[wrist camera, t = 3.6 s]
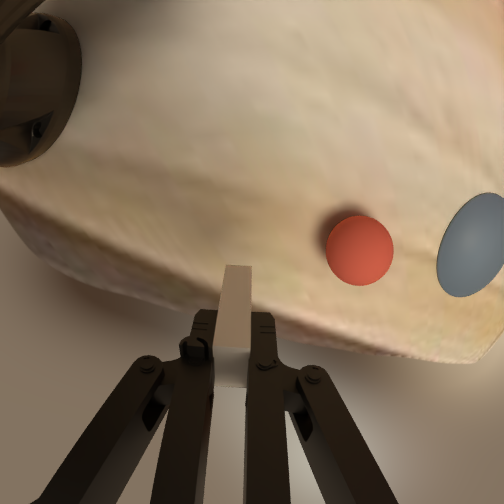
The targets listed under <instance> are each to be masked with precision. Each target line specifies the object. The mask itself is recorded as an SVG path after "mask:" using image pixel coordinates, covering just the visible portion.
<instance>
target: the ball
mask: <svg viewBox="0 0 504 504" xmlns="http://www.w3.org/2000/svg"><path fill="white" fill-rule="evenodd" d="M326 257H327V261H328V264H329V266H330V268H331V270H332V271H333V273H334V274H335V275H336V276H337V277H338V278H339V279H341V280H342V281H344V282H346V283H348V284H351V285H356V286H364V285H369V284H371V283H374V282H376V281H377V280H379V279H380V278H381V277H383V276H384V275H385V273H386V272H387V271H388V269H389V267H390V265H391V262H392V259H393V242H392V239H391V236H390V234H389V232H388V231H387V229H386V228H385V227H384V226H383V225H382V224H381V223H380V222H378V221H377V220H375V219H373V218H370V217H367V216H353V217H349V218H346V219H344V220H343V221H341V222H340V223H338V224H337V225H336V226H335V227H334V229H333V230H332V231H331V233H330V235H329V237H328V240H327V244H326Z"/></svg>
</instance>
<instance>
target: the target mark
mask: <svg viewBox="0 0 504 504" xmlns="http://www.w3.org/2000/svg"><path fill="white" fill-rule="evenodd" d="M503 264H504V198H502V197H501V196H499V195H497V194H494V193H484V194H480V195H478V196H476V197H474V198H473V199H471V200H470V201H468V202H467V203H466V204H465V205H464V206H463V207H462V208H461V209H460V210H459V211H458V213H457V214H456V215H455V217H454V218H453V220H452V221H451V223H450V224H449V226H448V228H447V230H446V232H445V234H444V236H443V239H442V242H441V245H440V249H439V252H438V258H437V275H438V280H439V283H440V285H441V286H442V288H443V289H444V290H445V292H447V293H448V294H450V295H452V296H455V297H466V296H469V295H472V294H474V293H476V292H478V291H480V290H481V289H483V288H484V287H485V286H486V285H487V284H489V283H490V282H491V281H492V280H493V278H494V277H495V276H496V275H497V273H498V272H499V271H500V269H501V268H502V266H503Z"/></svg>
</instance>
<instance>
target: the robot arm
mask: <svg viewBox="0 0 504 504" xmlns="http://www.w3.org/2000/svg"><path fill="white" fill-rule="evenodd" d="M44 1H45V0H0V167H13V166H17V165H20V164H22V163H25V162H28V161H30V160H33V159H35V158H37V157H38V156H40V155H41V154H43V153H44V152H45V151H46V150H47V149H48V148H49V147H50V146H51V145H52V144H53V143H54V142H55V140H56V139H57V138H58V136H59V135H60V133H61V132H62V130H63V128H64V126H65V125H66V123H67V121H68V119H69V116H70V114H71V112H72V109H73V106H74V104H75V100H76V97H77V93H78V89H79V84H80V78H81V66H82V60H81V49H80V44H79V41H78V38H77V35H76V33H75V31H74V30H73V28H72V27H71V26H70V25H69V24H68V23H67V22H66V21H65V20H63V19H61V18H59V17H55V16H52V15H49V14H45V13H32V12H33V11H34V10H35V9H36V8H37V7H38V6H39V5H40V4H41V3H43V2H44ZM251 278H252V266H236V265H226V267H225V273H224V279H223V285H222V291H221V297H220V303H219V309H218V310H206V309H200V310H199V311H198V312H197V314H196V315H195V317H194V321H193V325H192V329H191V333H190V336H188V337H185V338H184V339H183V340H181V342H180V344H179V348H180V355H181V357H180V358H178V359H176V360H172V361H166V362H161V360H160V359H159V358H157V357H155V356H150V355H147V356H142V357H140V358H138V359H137V360H136V361H135V362H134V363H133V364H132V366H131V367H130V368H129V370H128V371H127V372H126V374H125V375H124V377H123V378H122V379H121V380H120V382H119V383H118V385H117V386H116V388H115V389H114V390H113V391H112V393H111V394H110V396H109V397H108V398H107V400H106V401H105V403H104V404H103V405H102V407H101V408H100V410H99V411H98V412H97V414H96V415H95V417H94V418H93V420H92V421H91V422H90V424H89V425H88V426H87V428H86V429H85V431H84V432H83V434H82V435H81V437H80V438H79V439H78V441H77V442H76V444H75V445H74V447H73V448H72V450H71V451H70V453H69V454H68V455H67V457H66V458H65V460H64V461H63V463H62V464H61V466H60V467H59V469H58V470H57V472H56V473H55V475H54V476H53V478H52V479H51V481H50V482H49V484H48V485H47V487H46V488H45V490H44V491H43V493H42V494H41V496H40V497H39V498H38V499H37V500H35V501H34V502H32V503H30V504H116V502H117V501H118V499H119V497H120V495H121V493H122V491H123V490H124V488H125V486H126V484H127V483H128V481H129V479H130V477H131V475H132V473H133V472H134V470H135V468H136V466H137V465H138V463H139V461H140V459H141V457H142V456H143V454H144V452H145V450H146V448H147V447H148V445H149V443H150V441H151V439H152V438H153V436H154V434H155V432H156V430H157V429H158V427H159V425H160V423H161V421H162V420H163V418H164V416H165V414H166V412H167V410H168V409H169V411H168V415H167V420H166V424H165V429H164V433H163V439H162V443H161V448H160V453H159V458H158V463H157V468H156V473H155V478H154V484H153V489H152V495H151V500H150V504H203V497H204V485H205V476H206V465H207V455H208V445H209V435H210V426H211V417H212V408H213V399H214V390H213V389H214V386H223V387H238V388H247V392H246V403H245V406H246V415H245V451H244V452H245V453H244V488H243V489H244V490H243V504H291V502H290V483H289V467H288V452H287V438H286V424H285V411H288V412H289V415H290V417H291V420H292V422H293V425H294V428H295V430H296V433H297V435H298V438H299V440H300V443H301V445H302V448H303V450H304V453H305V455H306V457H307V460H308V462H309V465H310V467H311V469H312V472H313V474H314V477H315V479H316V482H317V484H318V486H319V489H320V491H321V494H322V496H323V498H324V501H325V503H326V504H398V502H397V500H396V498H395V496H394V494H393V492H392V490H391V489H390V487H389V485H388V483H387V481H386V479H385V477H384V476H383V474H382V472H381V470H380V468H379V466H378V464H377V463H376V461H375V459H374V457H373V455H372V453H371V452H370V450H369V448H368V446H367V444H366V442H365V440H364V439H363V437H362V435H361V433H360V431H359V429H358V427H357V426H356V424H355V422H354V420H353V418H352V416H351V415H350V413H349V411H348V409H347V407H346V405H345V404H344V402H343V400H342V398H341V396H340V395H339V393H338V391H337V389H336V387H335V385H334V384H333V382H332V380H331V378H330V376H329V375H328V373H327V372H326V371H325V369H323V368H321V367H320V366H316V365H307V366H305V367H303V368H302V369H301V370H298V369H294V368H291V367H288V366H286V365H284V364H283V363H282V362H281V361H280V359H279V358H278V353H277V341H276V329H275V319H274V318H273V316H272V315H271V313H267V312H251Z"/></svg>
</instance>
